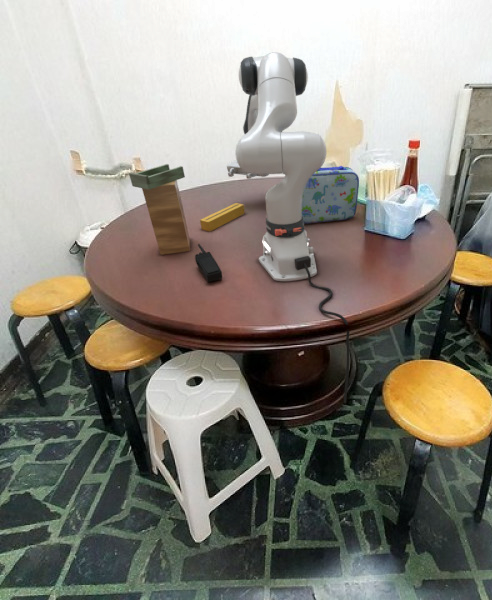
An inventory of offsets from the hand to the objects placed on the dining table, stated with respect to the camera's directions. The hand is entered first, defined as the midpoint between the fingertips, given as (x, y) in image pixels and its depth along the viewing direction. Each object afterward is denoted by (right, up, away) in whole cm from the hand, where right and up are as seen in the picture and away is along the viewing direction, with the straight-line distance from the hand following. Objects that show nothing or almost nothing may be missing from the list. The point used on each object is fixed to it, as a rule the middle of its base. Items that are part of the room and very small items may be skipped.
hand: (238, 175), depth 145 cm
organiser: (-20, -32, -17) cm, 42 cm away
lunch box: (+36, -18, +1) cm, 40 cm away
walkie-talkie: (-5, -42, -31) cm, 52 cm away
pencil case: (-6, -18, +2) cm, 19 cm away
